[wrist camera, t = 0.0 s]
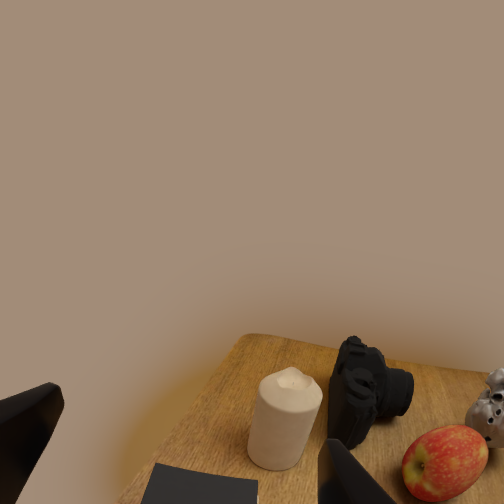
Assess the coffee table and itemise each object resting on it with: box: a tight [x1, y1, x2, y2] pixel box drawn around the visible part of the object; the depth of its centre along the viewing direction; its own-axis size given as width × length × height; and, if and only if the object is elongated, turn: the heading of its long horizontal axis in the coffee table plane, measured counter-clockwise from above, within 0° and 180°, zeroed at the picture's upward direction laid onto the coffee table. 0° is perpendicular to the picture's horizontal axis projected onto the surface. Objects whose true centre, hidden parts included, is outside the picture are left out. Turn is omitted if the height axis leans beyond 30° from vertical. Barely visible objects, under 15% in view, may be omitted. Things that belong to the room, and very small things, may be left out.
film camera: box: [328, 336, 414, 450], centre depth 32 cm, size 15×10×9 cm, turn 167°
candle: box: [247, 367, 323, 471], centre depth 26 cm, size 6×6×10 cm
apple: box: [402, 425, 488, 502], centre depth 20 cm, size 8×8×8 cm
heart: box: [465, 368, 504, 448], centre depth 23 cm, size 10×10×12 cm
